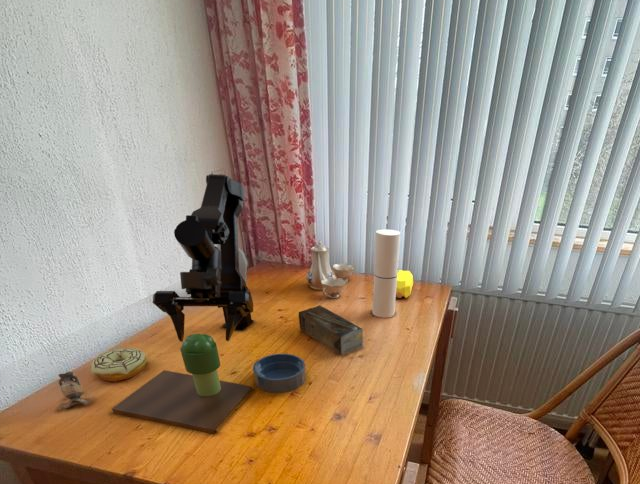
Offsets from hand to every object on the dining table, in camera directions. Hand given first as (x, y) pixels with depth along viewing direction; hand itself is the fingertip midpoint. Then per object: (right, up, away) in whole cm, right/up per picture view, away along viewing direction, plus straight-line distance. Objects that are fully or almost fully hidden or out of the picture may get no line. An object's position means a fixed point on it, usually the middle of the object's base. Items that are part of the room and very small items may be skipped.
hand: (204, 340), depth 80 cm
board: (-4, -13, +1) cm, 13 cm away
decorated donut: (-23, -6, +9) cm, 25 cm away
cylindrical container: (+37, +14, +44) cm, 60 cm away
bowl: (+14, -8, +9) cm, 18 cm away
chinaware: (+17, +27, +61) cm, 69 cm away
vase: (-26, -13, -1) cm, 28 cm away
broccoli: (0, -10, +2) cm, 11 cm away
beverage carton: (+23, +3, +27) cm, 35 cm away
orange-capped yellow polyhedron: (+44, +25, +61) cm, 79 cm away
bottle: (-14, +22, +51) cm, 58 cm away
